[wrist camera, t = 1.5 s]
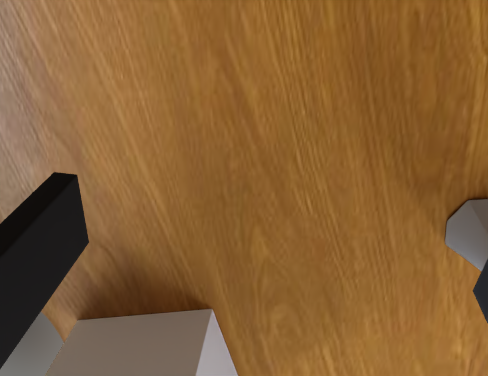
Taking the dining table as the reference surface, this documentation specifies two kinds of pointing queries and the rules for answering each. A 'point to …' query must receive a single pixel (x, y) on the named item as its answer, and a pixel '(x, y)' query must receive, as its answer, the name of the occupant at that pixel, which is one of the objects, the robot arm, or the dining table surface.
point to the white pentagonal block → (146, 347)
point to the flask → (470, 232)
